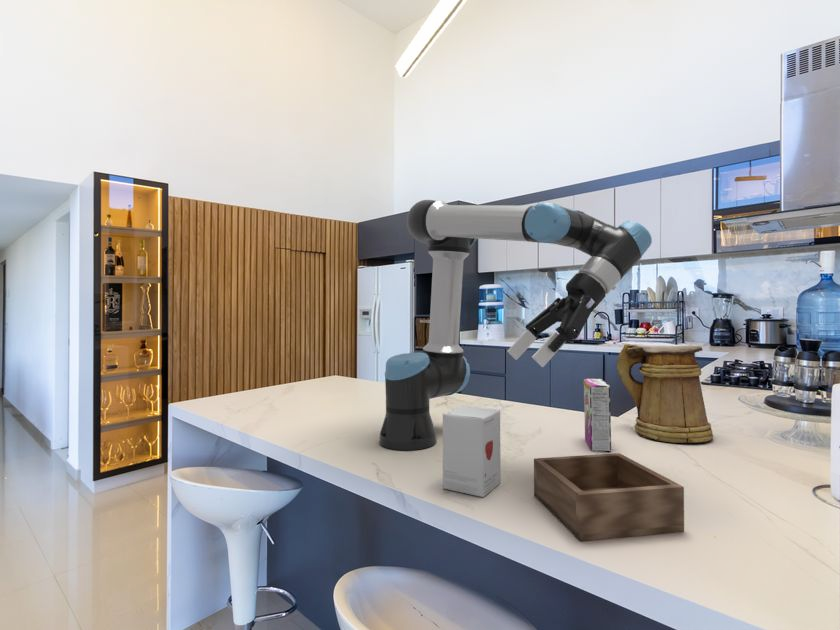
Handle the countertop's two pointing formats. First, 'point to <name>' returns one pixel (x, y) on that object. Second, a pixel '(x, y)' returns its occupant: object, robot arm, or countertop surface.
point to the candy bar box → (597, 414)
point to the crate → (608, 496)
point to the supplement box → (471, 450)
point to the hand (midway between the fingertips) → (523, 358)
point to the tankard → (666, 392)
